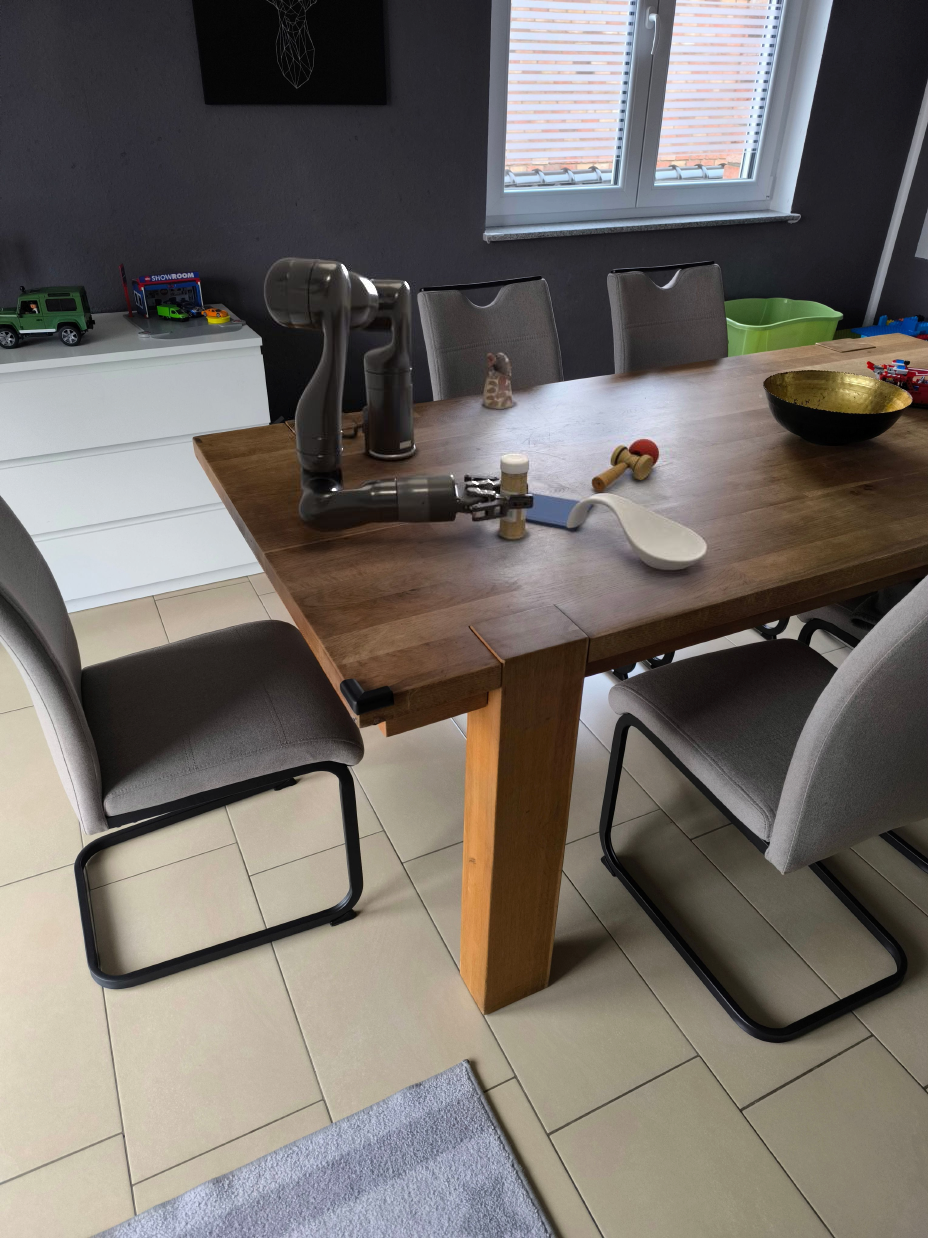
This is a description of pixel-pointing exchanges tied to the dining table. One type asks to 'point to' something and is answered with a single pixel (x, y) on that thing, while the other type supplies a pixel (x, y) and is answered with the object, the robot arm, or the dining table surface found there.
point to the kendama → (629, 463)
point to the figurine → (498, 383)
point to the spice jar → (513, 493)
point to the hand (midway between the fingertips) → (529, 494)
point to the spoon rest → (647, 533)
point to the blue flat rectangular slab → (550, 511)
